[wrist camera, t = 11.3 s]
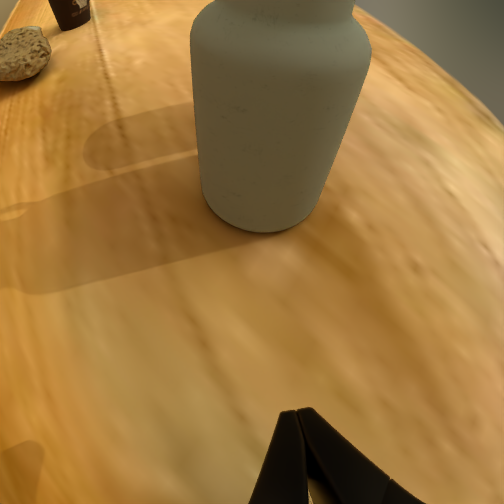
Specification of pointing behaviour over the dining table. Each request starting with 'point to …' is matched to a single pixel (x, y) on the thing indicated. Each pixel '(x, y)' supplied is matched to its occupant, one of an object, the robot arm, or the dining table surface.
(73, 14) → the coffee mug
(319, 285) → the dining table surface
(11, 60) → the rock
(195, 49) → the water bottle
